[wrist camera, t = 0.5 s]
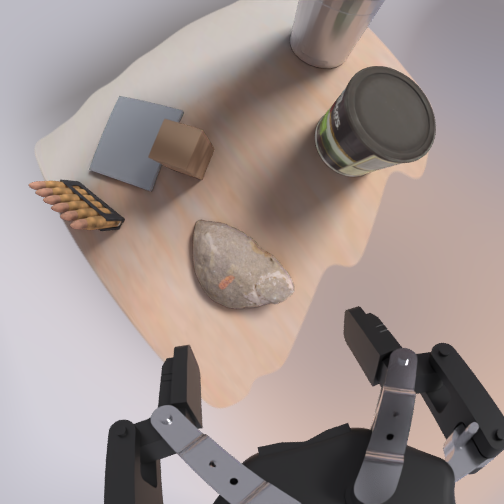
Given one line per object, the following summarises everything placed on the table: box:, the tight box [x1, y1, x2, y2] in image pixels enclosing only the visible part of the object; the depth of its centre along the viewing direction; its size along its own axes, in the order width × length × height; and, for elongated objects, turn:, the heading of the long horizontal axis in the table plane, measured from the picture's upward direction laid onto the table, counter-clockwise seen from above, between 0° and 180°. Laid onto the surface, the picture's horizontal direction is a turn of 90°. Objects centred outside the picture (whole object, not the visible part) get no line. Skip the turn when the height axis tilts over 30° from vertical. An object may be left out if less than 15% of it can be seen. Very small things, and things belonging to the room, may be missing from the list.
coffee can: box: [315, 66, 436, 177], centre depth 29 cm, size 10×10×14 cm
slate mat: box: [89, 96, 184, 191], centre depth 35 cm, size 12×11×1 cm
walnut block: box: [148, 119, 215, 180], centre depth 31 cm, size 4×4×10 cm
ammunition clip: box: [29, 180, 125, 231], centre depth 31 cm, size 11×2×12 cm, turn 54°
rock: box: [193, 220, 294, 309], centre depth 37 cm, size 15×4×10 cm
